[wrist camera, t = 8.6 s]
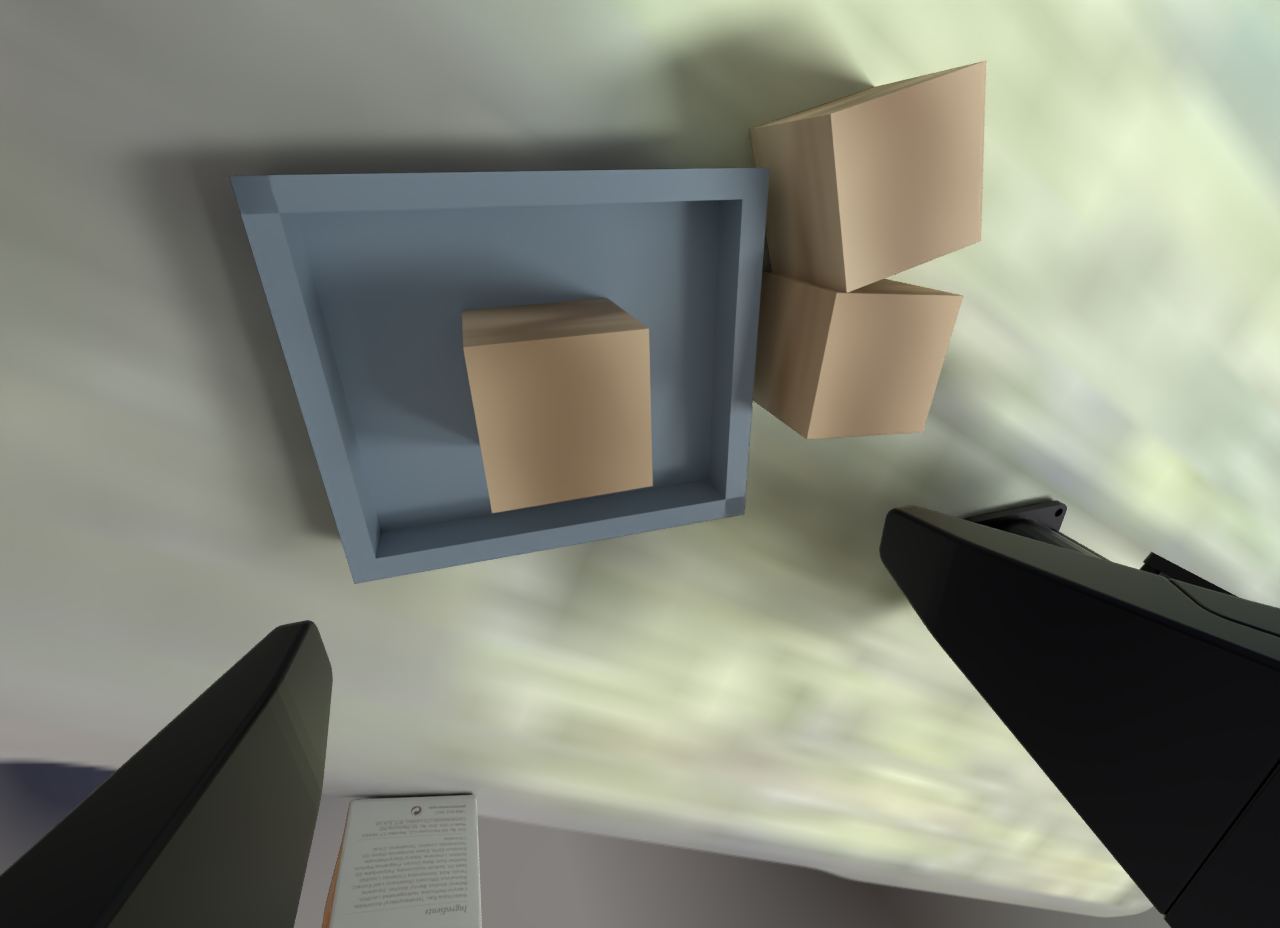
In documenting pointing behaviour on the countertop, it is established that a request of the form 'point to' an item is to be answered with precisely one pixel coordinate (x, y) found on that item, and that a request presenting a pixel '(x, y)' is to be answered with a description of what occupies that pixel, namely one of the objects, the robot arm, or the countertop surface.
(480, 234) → the tray
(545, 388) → the oak cube
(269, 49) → the countertop surface
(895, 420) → the oak cube
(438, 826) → the small box
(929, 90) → the oak cube
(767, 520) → the countertop surface
